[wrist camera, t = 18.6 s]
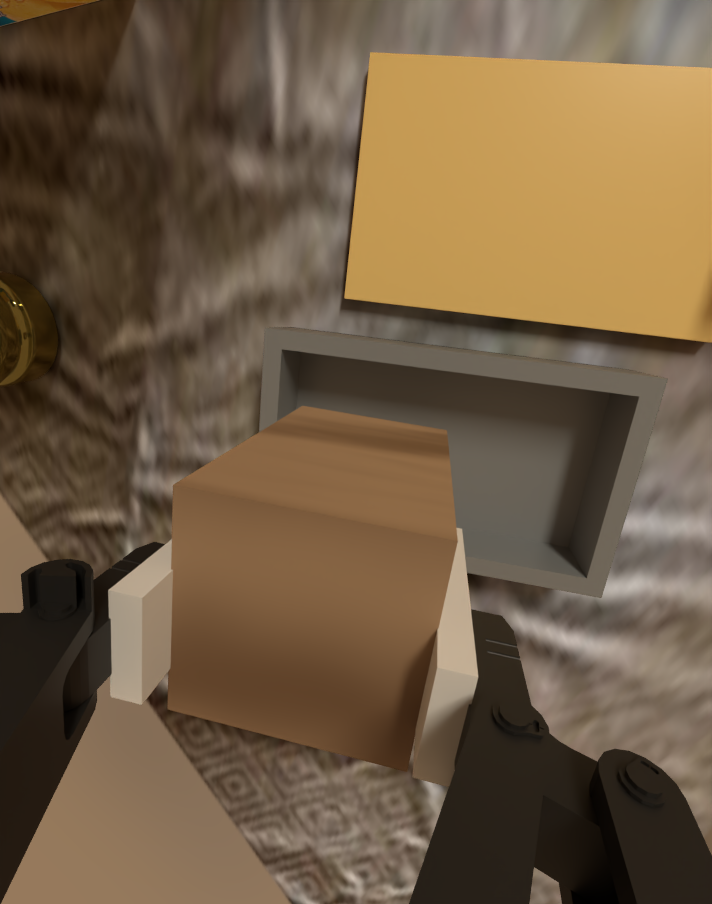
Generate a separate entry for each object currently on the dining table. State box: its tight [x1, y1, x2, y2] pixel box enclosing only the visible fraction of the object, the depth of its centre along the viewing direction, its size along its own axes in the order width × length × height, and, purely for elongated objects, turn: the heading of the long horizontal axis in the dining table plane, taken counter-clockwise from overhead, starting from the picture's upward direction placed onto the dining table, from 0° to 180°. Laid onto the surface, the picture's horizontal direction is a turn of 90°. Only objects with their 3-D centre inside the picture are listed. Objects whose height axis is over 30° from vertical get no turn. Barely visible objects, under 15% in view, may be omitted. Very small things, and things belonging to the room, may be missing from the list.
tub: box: [259, 327, 668, 598], centre depth 27 cm, size 12×20×4 cm, turn 83°
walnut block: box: [168, 406, 458, 772], centre depth 15 cm, size 6×6×10 cm
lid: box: [344, 52, 712, 343], centre depth 22 cm, size 12×25×5 cm, turn 83°
